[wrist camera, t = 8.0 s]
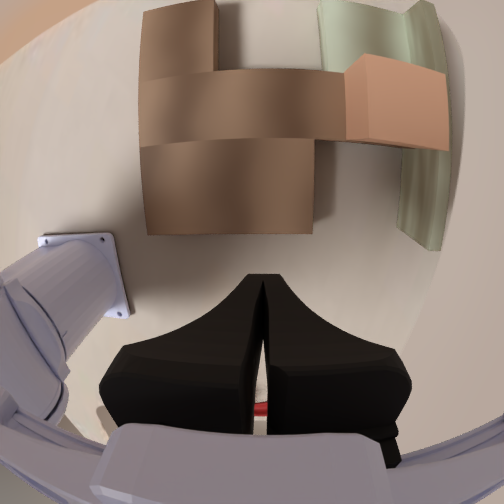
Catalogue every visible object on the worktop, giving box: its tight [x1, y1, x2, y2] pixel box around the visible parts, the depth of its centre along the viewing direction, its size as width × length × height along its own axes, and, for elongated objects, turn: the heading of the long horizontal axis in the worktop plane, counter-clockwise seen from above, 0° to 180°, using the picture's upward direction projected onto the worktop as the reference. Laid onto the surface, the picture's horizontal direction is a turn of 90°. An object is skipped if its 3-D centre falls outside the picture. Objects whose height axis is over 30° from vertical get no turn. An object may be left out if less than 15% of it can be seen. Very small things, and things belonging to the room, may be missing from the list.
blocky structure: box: [138, 0, 452, 251], centre depth 14 cm, size 19×16×5 cm
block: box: [344, 53, 449, 151], centre depth 12 cm, size 5×4×4 cm
